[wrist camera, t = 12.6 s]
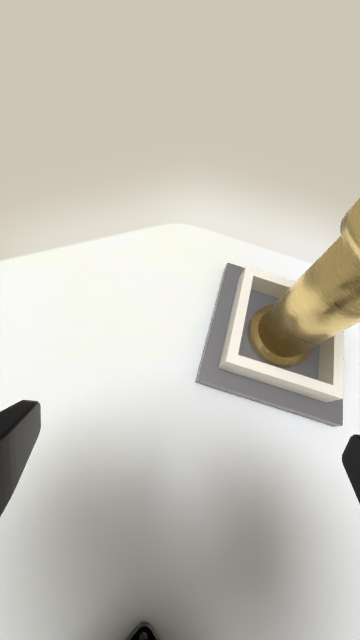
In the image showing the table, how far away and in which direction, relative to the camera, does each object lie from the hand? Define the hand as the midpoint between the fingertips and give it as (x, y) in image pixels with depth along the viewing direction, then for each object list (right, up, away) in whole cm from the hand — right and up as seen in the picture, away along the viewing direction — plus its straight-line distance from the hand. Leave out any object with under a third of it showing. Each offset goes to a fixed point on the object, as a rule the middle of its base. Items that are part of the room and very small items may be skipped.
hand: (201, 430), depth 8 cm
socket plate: (+8, +1, +17) cm, 19 cm away
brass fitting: (+8, +2, +16) cm, 18 cm away
